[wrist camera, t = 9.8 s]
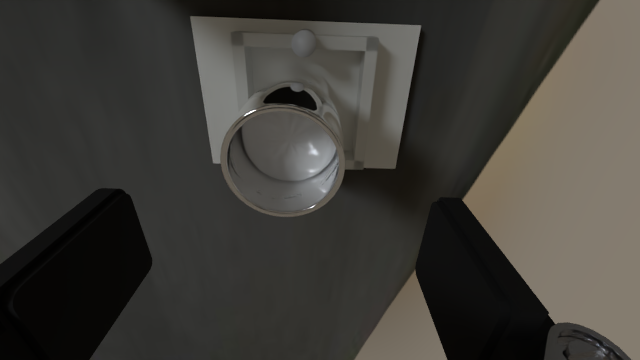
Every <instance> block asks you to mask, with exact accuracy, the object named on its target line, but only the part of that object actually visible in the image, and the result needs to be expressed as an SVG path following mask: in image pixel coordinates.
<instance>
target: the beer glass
mask: <svg viewBox="0 0 640 360" xmlns="http://www.w3.org/2000/svg"><path fill="white" fill-rule="evenodd" d="M344 153H345V146H344V133H343V127H342V123H341V120H340V117H339V114H338V111H337V109H336V107H335V105H334V104H333V102H332V101H331V95H330V90H329V87H328V85H327V83H326V81H325V80H324V78H323V77H322V76H321V75H320V74H319V73H318V72H316V71H315V70H313V69H311V68H308V67H304V66H293V67H289V68H286V69H284V70H282V71H281V72H279V73H278V74H277V75H276V76H275V78H274V79H273V80H272V82H271V83H270V84H268V85H266V86H264V87H262V88H261V89H259V90H258V91H257V92H256V93H255V94H254V95H253V96H251V97H250V98H249V99H248V100H247V102H246V103H245V104H244V106H243V107H242V108H241V110H240V111H239V113H238V114H237V116H236V118H235V120H234V122H233V124H232V126H231V127H230V128H229V130H228V132H227V133H226V135H225V137H224V140H223V143H222V147H221V154H220V161H221V168H222V172H223V175H224V178H225V180H226V182H227V184H228V186H229V187H230V189H231V190H232V191H233V193H234V194H235V195H236V196H237V197H238V198H239V199H240V200H241V201H243V202H244V203H245V204H247V205H248V206H250V207H251V208H253V209H255V210H257V211H259V212H262V213H265V214H268V215H272V216H278V217H295V216H301V215H305V214H308V213H311V212H313V211H315V210H317V209H319V208H320V207H322V206H323V205H325V204H326V203H327V202H328V201H329V200H330V199H331V198H332V197H333V196H334V195H335V194H336V192H337V191H338V189H339V187H340V185H341V183H342V180H343V177H344V172H345V155H344Z"/></svg>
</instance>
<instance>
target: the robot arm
mask: <svg viewBox="0 0 640 360" xmlns="http://www.w3.org/2000/svg"><path fill="white" fill-rule="evenodd" d="M151 266H152V257H151V254H150V251H149V248H148V245H147V242H146V239H145V237H144V234H143V231H142V228H141V225H140V222H139V219H138V216H137V213H136V210H135V207H134V204H133V202H132V199H131V197H130V195H129V194H126V193H125V191H124V190H122V189H107V188H101V189H98V190H96V191H95V192H93V193H92V194H91V195H90V196H88V197H87V198H86V199H84V200H83V201H82V202H80V203H79V204H78V205H77V206H75V207H74V208H73V209H71V210H70V211H69V212H68V213H66V214H65V215H64V216H62V217H61V218H60V219H58V220H57V221H56V222H55V223H53V224H52V225H51V226H49V227H48V228H47V229H46V230H44V231H43V232H42V233H40V234H39V235H38V236H36V237H35V238H34V239H33V240H31V241H30V242H29V243H27V244H26V245H25V246H23V247H22V248H21V249H20V250H18V251H17V252H16V253H14V254H13V255H12V256H11V257H9V258H8V259H7V260H5V261H4V262H3V263H1V264H0V360H89V359H90V358H91V356H92V355H93V353H94V352H95V350H96V349H97V347H98V346H99V345H100V343H101V342H102V340H103V339H104V337H105V336H106V334H107V333H108V331H109V330H110V328H111V327H112V325H113V324H114V322H115V321H116V319H117V318H118V316H119V315H120V313H121V312H122V310H123V309H124V307H125V306H126V305H127V303H128V302H129V300H130V299H131V297H132V296H133V294H134V293H135V291H136V290H137V288H138V287H139V285H140V284H141V282H142V281H143V279H144V278H145V276H146V275H147V273H148V272H149V270H150V269H151ZM415 269H416V276H417V279H418V281H419V284H420V287H421V290H422V292H423V295H424V298H425V300H426V303H427V306H428V308H429V311H430V314H431V317H432V319H433V322H434V325H435V327H436V330H437V333H438V335H439V338H440V341H441V343H442V346H443V349H444V352H445V354H446V357H447V360H631V359H630V358H629V357H628V356H627V355H626V354H625V353H624V352H623V351H622V350H621V349H620V348H619V347H618V346H616V345H615V344H614V343H612V342H611V341H610V340H609V339H607V338H606V337H604V336H602V335H600V334H599V333H597V332H595V331H593V330H591V329H589V328H586V327H584V326H581V325H577V324H573V323H557V324H556V325H555V323H554V322H553V321H552V319H551V318H550V317H549V315H548V314H549V312H548V311H547V309H546V308H545V307H544V306H543V305H542V303H541V302H540V300H539V299H538V298H537V297H536V295H535V294H534V293H533V292H532V290H531V289H530V288H529V286H528V285H527V284H526V282H525V281H524V280H523V278H522V277H521V276H520V274H519V273H518V272H517V271H516V269H515V268H514V267H513V265H512V264H511V263H510V262H509V260H508V259H507V258H506V256H505V255H504V254H503V252H502V251H501V250H500V249H499V247H498V246H497V245H496V243H495V242H494V241H493V240H492V238H491V237H490V236H489V234H488V233H487V232H486V230H485V229H484V228H483V227H482V225H481V224H480V223H479V222H478V220H477V219H476V218H475V216H474V215H473V214H472V212H471V211H470V210H469V208H468V207H467V206H466V205H465V204H464V202H463V201H462V200H461V199H460V198H444V197H441V198H439V199H438V201H437V202H433V203H432V205H431V209H430V212H429V216H428V220H427V224H426V228H425V231H424V235H423V239H422V243H421V246H420V250H419V254H418V258H417V262H416V268H415Z"/></svg>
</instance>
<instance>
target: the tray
mask: <svg viewBox="0 0 640 360" xmlns="http://www.w3.org/2000/svg"><path fill="white" fill-rule="evenodd" d="M190 18H191V25H192V31H193V37H194V44H195V50H196V56H197V63H198V69H199V75H200V82H201V88H202V94H203V101H204V107H205V114H206V120H207V126H208V133H209V139H210V145H211V152H212V158H213V163H221V161H220V154H221V147H222V143H223V140H224V137H225V135H226V133H227V132H228V130H229V128H230V127H231V126H232V124H233V122H234V120H235V118H236V116H237V114H238V113H239V111H240V110H241V108H242V107H243V106H244V104H245V103H246V102H247V100H248V99H249V98H250V97H251V96H253V95H254V94H255V93H256V92H257V91H258V90H259V89H261V88H262V87H264V86H266V85H268V84H270V83H271V82H272V80H273V79H274V78H275V76H276V75H277V74H278V73H279V72H281V71H282V70H284V69H286V68H289V67H293V66H304V67H308V68H311V69H313V70H315V71H316V72H318V73H319V74H320V75H321V76H322V77H323V78H324V80H325V81H326V83H327V85H328V87H329V90H330V95H331V101H332V102H333V104H334V105H335V107H336V109H337V111H338V114H339V117H340V120H341V123H342V127H343V133H344V146H345V153H344V155H345V169H351V170H363V168H385V169H395V167H396V162H397V156H398V151H399V145H400V140H401V134H402V129H403V123H404V118H405V112H406V106H407V101H408V95H409V90H410V84H411V79H412V73H413V68H414V62H415V57H416V51H417V46H418V40H419V35H420V29H421V26H420V25H396V24H372V23H347V22H323V21H298V20H274V19H249V18H225V17H200V16H190Z"/></svg>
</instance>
